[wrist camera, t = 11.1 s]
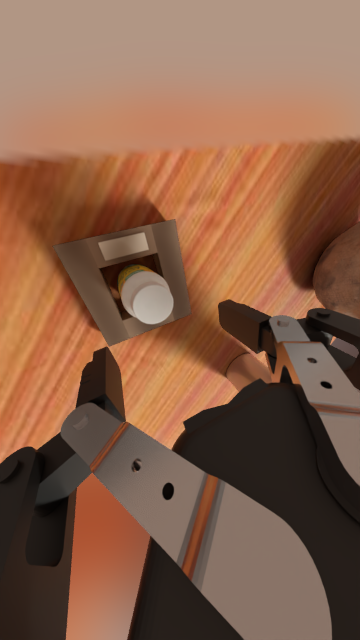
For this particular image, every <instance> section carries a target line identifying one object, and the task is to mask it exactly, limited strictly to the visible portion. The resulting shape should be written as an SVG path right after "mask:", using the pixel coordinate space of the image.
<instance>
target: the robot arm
mask: <svg viewBox="0 0 360 640" xmlns="http://www.w3.org/2000/svg"><path fill="white" fill-rule="evenodd" d="M218 310H219V322H220V325H221V326H222V328H223V329H224V330H226V331H227V332H228V333H230V334H231V335H232V336H234V337H235V338H236V339H238V340H239V341H240V342H242V343H243V344H244V345H246V346H247V347H248V348H250V349H251V350H252V351H254V352H255V353H256V354H258V353H260V352H262V351H265V352H266V354H265V356H266V360H267V364H268V367H267V366H265V365H264V364H263V363H262V362H260V361H259V360H258V359H257V358H255V357H254V356H253V355H251V354H249V353H247V354H242V355H240V356H239V357H237V358H236V359H235V360H234V361H233V362H232V363H231V364H230V366H229V367H228V369H227V373H226V376H227V378H228V380H229V381H230V382H231V383H232V384H233V385H234V386H235V388H236V389H237V390H238V391H239V393H238V394H237V395H236V396H235V397H234V398H233V399H232V400H231V401H230V402H229V403H228V404H225V405H221V406H217V407H214V408H210V409H206V410H203V411H201V412H200V413H198V414H196V415H194V416H193V417H191V418H189V419H187V420H186V421H184V422H183V424H184V426H185V430H184V431H183V432H182V433H181V435H180V436H179V437H178V439H177V440H176V442H175V444H174V445H173V448H172V450H170V449H168V448H167V447H165V446H164V445H162V444H161V443H159V442H158V441H156V440H155V439H153V438H152V437H150V436H149V435H147V434H145V433H144V432H142V431H141V430H139V429H138V428H136V427H135V426H133V425H132V424H130V423H128V422H125V421H126V419H125V409H124V400H123V390H122V381H121V372H120V369H119V366H118V364H117V362H116V360H115V359H114V357H113V355H112V353H111V352H110V350H109V348H108V347H105V348H102V349H99V350H97V351H94V353H93V361H92V362H89V363H87V365H86V366H85V368H84V369H83V371H82V376H81V382H80V387H79V392H78V398H77V403H76V409H75V410H73V411H72V412H71V413H70V414H69V415H68V417H67V418H66V419H65V421H64V422H63V424H62V427H61V432H60V433H58V434H57V435H56V436H55V437H53V438H52V439H51V440H49V441H48V442H47V443H45V444H44V445H43V446H42V447H40V448H39V449H38V450H36V449H34V448H33V447H24V448H21V449H19V450H17V451H16V452H14V453H13V454H11V455H10V456H9V457H7V458H6V459H5V460H4V461H3V462H2V463H1V464H0V640H66V628H67V614H68V600H69V586H70V574H71V559H72V546H73V531H74V518H75V505H76V491H77V487H78V486H79V485H80V484H81V483H82V482H83V480H85V479H86V478H87V477H88V476H89V475H90V474H91V473H93V474H94V475H95V476H96V477H97V478H98V479H99V480H100V482H101V483H102V484H103V485H104V486H105V487H106V488H107V489H108V490H109V491H110V492H111V493H112V494H113V496H114V497H115V498H116V499H117V500H118V501H119V502H120V503H121V504H122V505H123V506H124V507H125V508H126V509H127V511H128V512H129V513H130V514H131V515H132V516H133V517H134V518H135V519H136V520H137V521H138V522H139V523H140V524H141V526H143V528H144V529H145V530H146V531H147V532H148V533H149V534H150V535H151V536H150V541H149V545H148V549H147V554H146V558H145V563H144V567H143V572H142V576H141V581H140V585H139V590H138V594H137V598H136V603H135V607H134V612H133V616H132V620H131V625H130V629H129V634H128V639H127V640H360V394H359V393H358V391H357V390H356V389H355V388H357V389H359V390H360V319H357V318H354V317H351V316H348V315H345V314H342V313H339V312H336V311H333V310H330V309H324V308H315V309H311V310H309V311H308V312H307V316H306V318H303V319H297V320H296V319H294V318H292V317H289V316H283V315H279V316H274V317H271V316H268V315H266V314H264V313H262V312H260V311H258V310H255V309H253V308H250V307H249V306H247V305H245V304H239V303H236V302H234V301H232V300H229V299H228V300H226V301H223V302H221V303H219V305H218ZM333 336H335V337H337V338H339V339H341V340H344V341H346V342H348V343H350V344H352V345H354V346H355V347H356V348H357V349H358V351H359V355H358V356H357V358H355V357H353V356H351V355H349V354H347V353H345V352H343V351H341V350H339V349H337V348H335V347H333V346H331V345H330V343H331V340H332V337H333ZM123 422H125V423H123Z"/></svg>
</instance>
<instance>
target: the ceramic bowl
mask: <svg viewBox="0 0 360 640" xmlns="http://www.w3.org/2000/svg"><path fill="white" fill-rule="evenodd" d="M313 287H314V290H315V294H316V296H317V298H318V300H319V301H320V302H321V304H322V305H323V306H324V307H325V308H326V309H330V310H333V311H336V312H339V313H342V314H345V315H348V316H351V317H354V318H357V319H360V222H358V223H357V224H355V225H354V226H352V227H351V228H349V229H348V230H347V231H345V232H344V233H342V234H341V235H340V236H338V237H337V238H336V239H335V240H333V241H332V243H331V244H330V245H329V246H328V247H327V248H326V250H325V251H324V252H323V254H322V255H321V257H320V259H319V261H318V263H317V265H316V268H315V272H314V275H313Z"/></svg>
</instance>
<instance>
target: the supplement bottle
mask: <svg viewBox="0 0 360 640" xmlns="http://www.w3.org/2000/svg"><path fill="white" fill-rule="evenodd" d="M117 285H118V290H119V293H120V297H121V300H122V303H123V306H124V308H125V309H126V310H127V312H128V313H129V314H131V315H132V316H134V317H136V318H138V319H139V320H140V321H141V322H143V323H146V324H157V323H160V322H162V321H163V320H165V319H166V318H167V317H168V316H169V315H170V313H171V312H172V309H173V297H172V295H171V293H170V289H169V286H168V284H167V282H166V281H165V280H164V279H163V278H162V277H161V276H160V275H158V274H157V273H155V272H153V271H152V270H150V269H149V268H147V267H145V266H143V265H139V264H132V265H128V266H126V267H125V268H124V269H122V271H121V272H120V273H119V275H118V279H117Z"/></svg>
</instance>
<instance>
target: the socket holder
mask: <svg viewBox="0 0 360 640" xmlns="http://www.w3.org/2000/svg"><path fill="white" fill-rule="evenodd" d="M53 248H54V250H55V251H56V253H57V255H58V257H59V259H60V260H61V262H62V264H63V266H64V267H65V269H66V271H67V273H68V274H69V276H70V278H71V280H72V282H73V283H74V285H75V287H76V289H77V290H78V292H79V294H80V296H81V298H82V299H83V301H84V303H85V305H86V306H87V308H88V310H89V312H90V313H91V315H92V317H93V319H94V321H95V322H96V324H97V326H98V328H99V329H100V331H101V333H102V335H103V337H104V338H105V340H106V342H107V344H108V345H109V346H112V345H114V344H117V343H119V342H122V341H124V340H127V339H130V338H132V337H135V336H137V335H140V334H142V333H145V332H147V331H150V330H152V329H155V328H157V327H160V326H163V325H165V324H168V323H170V322H173V321H175V320H178V319H180V318H183V317H185V316H188V315H190V314H191V308H190V302H189V296H188V291H187V285H186V279H185V273H184V268H183V262H182V256H181V250H180V244H179V239H178V233H177V227H176V221H175V219H173V220H169V221H164V222H159V223H155V224H150V225H146V226H141V227H136V228H132V229H127V230H123V231H118V232H113V233H109V234H104V235H100V236H95V237H90V238H86V239H81V240H77V241H72V242H67V243H63V244H58V245H54V246H53ZM151 254H153V258H154V262H155V266H156V269H157V273H158V275H160V276H161V277H162V278H163V279H164V280H165V281H166V282H167V284H168V286H169V289H170V293H171V295H172V297H173V309H172V312H171V313H170V315H169V316H168V317H167V318H166V319H165V320H163V321H162V322H160V323H157V324H146V323H143V322H141V321H140V320H139V319H138V318H136V317H134V316H132V315H131V314H129V313H128V312H127V310H126V311H123V312H120V310H119V308H118V306H117V303H116V301H115V299H114V297H113V294H112V292H111V290H110V288H109V285H108V283H107V281H106V279H105V276H104V274H103V272H102V270H101V268H102V267H106V266H110V265H114V264H117V263H121V262H125V261H128V260H132V259H136V258H140V257H143V256H147V255H151Z"/></svg>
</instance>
